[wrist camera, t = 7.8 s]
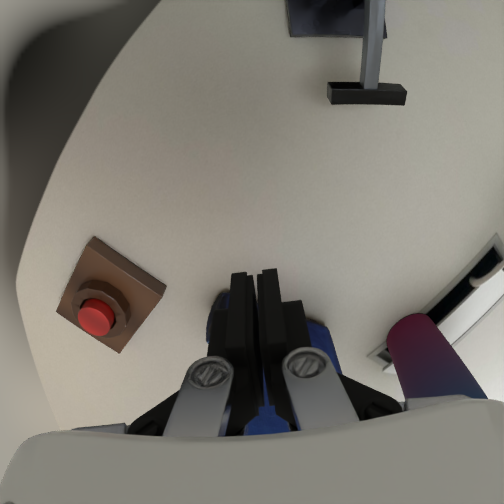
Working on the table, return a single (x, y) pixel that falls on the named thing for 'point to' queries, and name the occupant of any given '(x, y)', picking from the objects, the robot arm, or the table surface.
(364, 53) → the lever
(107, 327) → the button
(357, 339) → the table surface
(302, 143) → the table surface
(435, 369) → the cup
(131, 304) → the button box
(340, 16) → the bracket
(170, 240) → the table surface
